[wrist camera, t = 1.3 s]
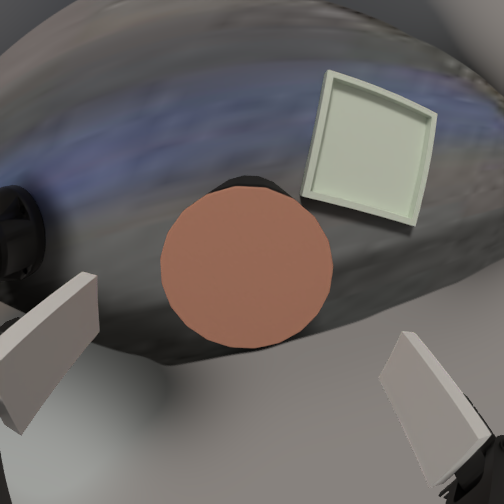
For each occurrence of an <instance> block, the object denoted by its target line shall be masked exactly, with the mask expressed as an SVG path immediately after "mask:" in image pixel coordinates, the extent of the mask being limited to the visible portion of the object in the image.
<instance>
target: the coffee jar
mask: <svg viewBox="0 0 504 504" xmlns="http://www.w3.org/2000/svg"><path fill="white" fill-rule="evenodd" d="M160 259H161V278H162V285H163V288H164V290H165V293H166V295H167V298H168V300H169V303H170V305H171V307H172V308H173V310H174V311H175V312H176V313H177V315H178V316H179V317H180V318H181V319H182V321H183V322H184V323H185V324H186V325H187V326H188V327H189V328H191V329H192V330H194V331H195V332H197V333H198V334H200V335H201V336H203V337H204V338H206V339H207V340H210V341H213V342H216V343H219V344H222V345H225V346H228V347H237V348H259V347H264V346H268V345H272V344H277V343H280V342H282V341H284V340H286V339H287V338H289V337H291V336H293V335H295V334H297V333H298V332H300V331H301V330H302V329H303V328H304V327H305V326H306V325H307V324H308V323H309V322H310V321H311V320H312V319H313V318H314V317H315V316H316V315H317V314H318V313H319V311H320V309H321V307H322V305H323V303H324V301H325V300H326V298H327V296H328V294H329V291H330V285H331V279H332V272H333V262H332V256H331V251H330V245H329V241H328V239H327V237H326V235H325V234H324V232H323V230H322V228H321V227H320V225H319V223H318V221H317V220H316V218H315V217H314V216H313V215H312V214H311V213H310V212H308V211H307V210H306V209H305V208H304V207H303V206H302V205H301V204H299V203H298V202H297V201H296V200H295V199H293V198H292V197H291V196H290V195H289V194H288V193H286V192H285V191H284V190H282V189H281V188H280V187H279V186H277V185H276V184H275V183H274V182H272V181H269V180H267V179H264V178H262V177H259V176H241V177H237V178H233V179H230V180H228V181H226V182H225V183H223V184H222V185H220V186H218V187H217V188H215V189H214V190H212V191H211V192H209V193H208V194H206V195H205V196H203V197H202V198H201V199H199V200H198V201H196V202H195V203H193V204H192V205H191V206H189V207H188V208H186V209H185V210H184V211H183V212H182V213H181V215H180V216H179V218H178V219H177V220H176V222H175V223H174V224H173V226H172V227H171V229H170V230H169V232H168V233H167V237H166V240H165V243H164V247H163V250H162V254H161V258H160Z"/></svg>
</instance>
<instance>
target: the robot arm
mask: <svg viewBox="0 0 504 504" xmlns="http://www.w3.org/2000/svg"><path fill="white" fill-rule="evenodd" d="M44 251H45V231H44V225H43V220H42V217H41V214H40V211H39V209H38V206H37V204H36V202H35V201H34V199H33V198H32V196H31V195H30V194H29V193H28V192H27V191H26V190H25V189H23V188H22V187H20V186H16V185H10V186H5V187H1V188H0V282H4V281H14V280H21V279H24V278H26V277H27V276H29V275H31V274H32V273H34V272H35V271H36V270H37V269H38V267H39V266H40V264H41V262H42V259H43V256H44ZM98 332H99V317H98V294H97V275H93V274H89V273H86V272H81V273H80V274H78V275H77V276H75V277H74V278H73V279H71V280H70V281H69V282H67V283H66V284H64V285H63V286H62V287H60V288H59V289H58V290H56V291H55V292H54V293H52V294H51V295H50V296H48V297H47V298H46V299H45V300H43V301H42V302H41V303H39V304H38V305H37V306H36V307H34V308H33V309H32V310H30V311H29V312H28V313H27V314H26V315H24V316H23V317H22V318H19V317H17V318H14V319H12V320H9V321H7V322H5V323H4V324H3V325H2V326H1V327H0V417H1V419H2V421H3V423H4V424H5V425H6V426H7V427H9V428H11V429H12V430H14V431H15V432H17V433H18V434H20V435H22V434H23V432H24V430H25V429H26V428H27V426H28V425H29V423H30V422H31V421H32V419H33V418H34V416H35V415H36V413H37V412H38V411H39V409H40V408H41V406H42V405H43V403H44V402H45V401H46V399H47V398H48V397H49V395H50V394H51V393H52V391H53V390H54V388H55V387H56V386H57V385H58V383H59V382H60V380H61V379H62V378H63V377H64V375H65V374H66V373H67V371H68V370H69V369H70V367H71V366H72V365H73V364H74V362H75V361H76V360H77V358H78V357H79V356H80V355H81V353H82V352H83V351H84V350H85V348H86V347H87V346H88V345H89V343H90V342H91V341H92V340H93V339H94V337H95V336H96V335H97V334H98ZM378 379H379V381H380V383H381V385H382V387H383V389H384V391H385V393H386V395H387V397H388V399H389V401H390V403H391V405H392V407H393V409H394V411H395V413H396V415H397V418H398V420H399V422H400V424H401V426H402V428H403V430H404V432H405V434H406V437H407V439H408V441H409V443H410V445H411V448H412V449H413V452H414V454H415V456H416V459H417V461H418V463H419V465H420V467H421V470H422V472H423V475H424V477H425V479H426V482H427V484H428V486H429V488H431V487H434V486H437V485H440V484H443V483H444V482H446V481H447V480H448V479H449V478H450V477H451V476H452V475H453V474H455V476H456V479H455V480H454V481H453V482H452V483H451V484H450V485H448V486H447V487H446V488H445V489H444V490H443V491H441V492H440V494H439V496H440V497H441V496H442V495H443V494H445V493H446V492H447V491H449V493H448V494H447V495H446V496H444V498H445V499H447V501H446V504H504V435H500V436H497V437H495V435H494V434H493V433H492V431H491V429H490V428H489V427H488V425H487V424H486V422H485V421H484V419H483V418H482V416H481V415H480V414H479V413H478V411H477V409H476V408H475V407H473V404H472V402H471V401H470V400H469V398H468V397H467V396H466V395H465V394H464V393H462V392H461V390H460V389H459V388H458V386H457V385H456V384H455V383H454V381H453V380H452V379H451V377H450V376H449V375H448V373H447V372H446V371H445V369H444V368H443V367H442V365H441V364H440V363H439V362H438V360H436V358H435V357H434V356H433V354H432V353H431V352H430V351H429V349H428V348H427V347H426V346H425V345H424V343H423V342H422V341H421V340H420V338H419V337H418V336H417V335H416V334H415V333H414V332H406V331H402V332H401V334H400V336H399V338H398V341H397V343H396V345H395V347H394V349H393V351H392V353H391V355H390V357H389V359H388V361H387V363H386V365H385V367H384V368H383V370H382V372H381V374H380V376H379V378H378ZM0 504H12V502H11V498H10V495H9V491H8V487H7V483H6V479H5V474H4V470H3V465H2V459H1V453H0Z"/></svg>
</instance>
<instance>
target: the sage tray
mask: <svg viewBox="0 0 504 504" xmlns="http://www.w3.org/2000/svg"><path fill="white" fill-rule="evenodd" d="M436 121H437V113H435V112H433V111H431V110H429V109H427V108H425V107H423V106H421V105H419V104H417V103H415V102H412V101H410V100H408V99H406V98H404V97H401V96H399V95H397V94H395V93H392V92H390V91H387V90H385V89H382V88H380V87H377V86H375V85H372V84H370V83H367V82H364V81H361V80H359V79H356V78H353V77H350V76H347V75H344V74H341V73H338V72H334V71H331V70H327V71H326V73H325V74H324V79H323V84H322V89H321V95H320V100H319V105H318V110H317V115H316V120H315V125H314V130H313V135H312V139H311V144H310V149H309V154H308V158H307V163H306V168H305V172H304V177H303V181H302V186H301V190H300V194H299V195H301V196H303V197H307V198H311V199H315V200H320V201H324V202H328V203H332V204H336V205H340V206H344V207H348V208H351V209H355V210H359V211H363V212H366V213H370V214H374V215H377V216H381V217H384V218H388V219H391V220H395V221H398V222H402V223H405V224H408V225H412V226H416V222H417V218H418V214H419V211H420V207H421V203H422V198H423V194H424V190H425V185H426V181H427V176H428V171H429V166H430V160H431V155H432V149H433V143H434V136H435V129H436Z"/></svg>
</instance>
